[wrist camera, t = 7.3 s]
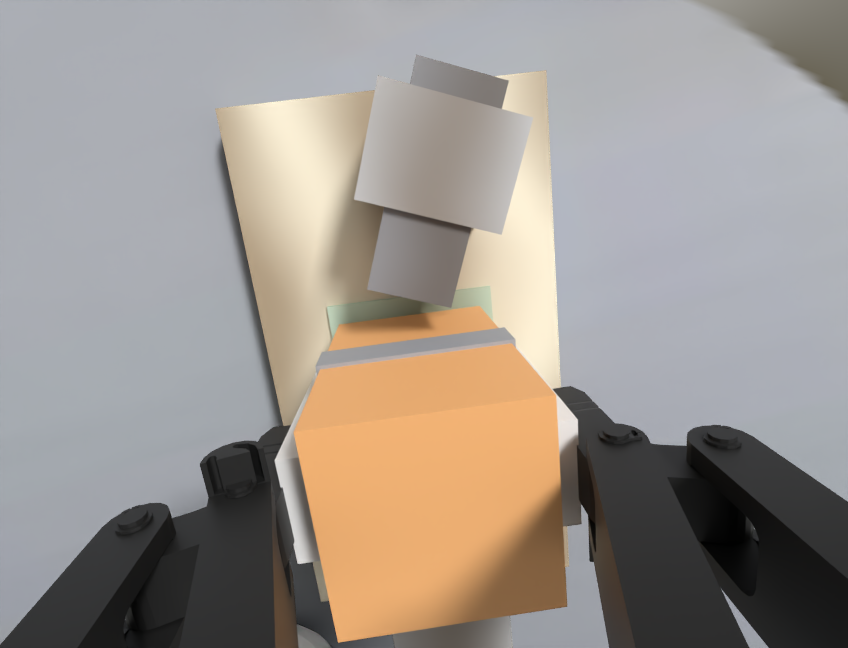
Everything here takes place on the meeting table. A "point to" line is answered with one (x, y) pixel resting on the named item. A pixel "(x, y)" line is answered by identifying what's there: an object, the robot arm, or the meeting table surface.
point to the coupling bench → (345, 233)
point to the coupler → (432, 475)
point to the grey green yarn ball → (310, 639)
